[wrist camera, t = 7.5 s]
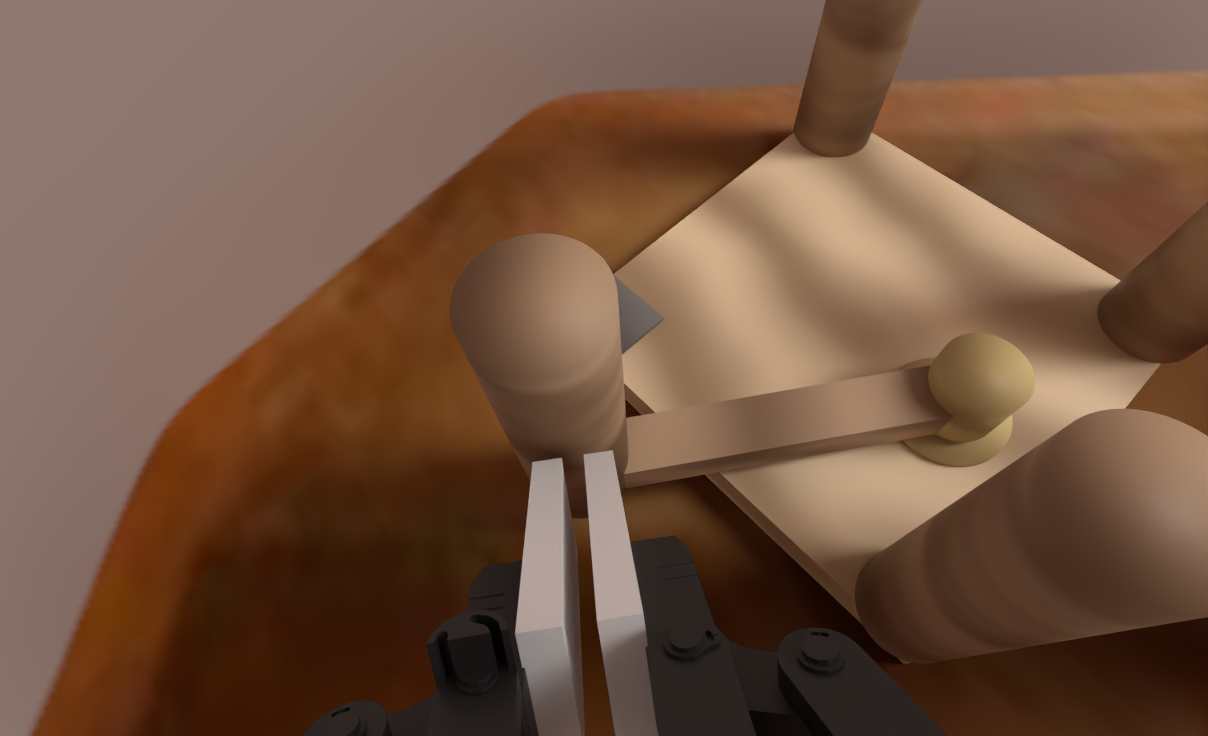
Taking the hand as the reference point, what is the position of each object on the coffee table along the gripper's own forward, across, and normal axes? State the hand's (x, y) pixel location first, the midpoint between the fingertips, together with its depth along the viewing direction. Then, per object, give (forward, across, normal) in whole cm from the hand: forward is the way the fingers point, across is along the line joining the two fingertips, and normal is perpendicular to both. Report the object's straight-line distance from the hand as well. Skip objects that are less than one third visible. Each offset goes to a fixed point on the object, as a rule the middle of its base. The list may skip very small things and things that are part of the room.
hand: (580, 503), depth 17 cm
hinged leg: (+6, -7, +2) cm, 9 cm away
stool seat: (+11, -12, 0) cm, 17 cm away
